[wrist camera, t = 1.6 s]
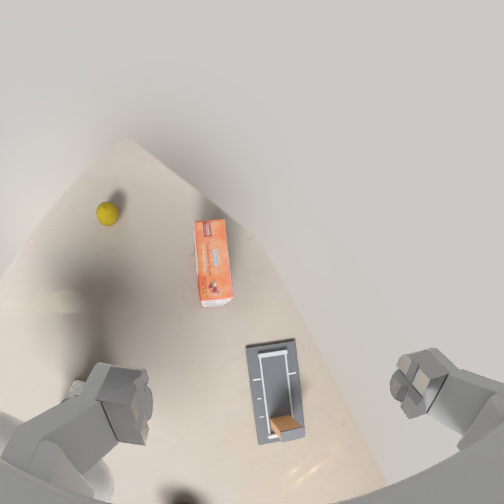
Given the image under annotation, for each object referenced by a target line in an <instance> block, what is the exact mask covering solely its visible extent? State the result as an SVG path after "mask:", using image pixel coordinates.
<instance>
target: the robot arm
mask: <svg viewBox="0 0 504 504" xmlns="http://www.w3.org/2000/svg"><path fill="white" fill-rule="evenodd" d="M397 367H398V370H397V371H396V372H395V373H394V374H393V375H392V378H391V381H390V391H391V394H392V396H393V397H394V398H395V399H396V400H398V401H400V402H401V408H402V410H403V411H404V413H405V414H406V415H407V417H408V418H409V419H411V418H415V417H417V416H420V415H423V414H426V413H427V415H429V416H430V417H432V418H434V419H435V420H437V421H439V422H440V423H442V424H444V425H445V426H447V427H449V428H451V429H452V430H454V431H456V432H457V433H459V434H461V435H463V437H462V438H461V440H460V441H459V442H458V444H457V447H458V449H459V450H460V451H459V452H458V453H456V454H454V455H453V456H451V457H449V458H447V459H445V460H444V461H442V462H440V463H438V464H436V465H434V466H432V467H430V468H428V469H426V470H424V471H422V472H420V473H418V474H415V475H414V476H411V477H409V478H406V479H404V480H402V481H399V482H397V483H395V484H392V485H389V486H387V487H384V488H381V489H378V490H376V491H373V492H370V493H367V494H364V495H360V496H357V497H354V498H350V499H347V500H343V501H339V502H336V503H331V504H504V383H501V382H497V381H495V380H492V379H489V378H486V377H483V376H480V375H477V374H475V373H472V372H469V371H466V370H463V369H462V370H459V369H458V368H457V367H456V366H455V365H454V364H453V363H452V362H451V361H450V360H449V359H448V358H447V357H446V356H445V355H443V354H442V353H441V352H440V351H439V350H438V349H436V348H430V349H426V350H423V351H419V352H415V353H410V354H406V355H402V356H401V357H400V358H399V360H398V362H397ZM148 379H149V378H148V374H147V370H146V369H144V368H136V367H129V366H122V365H115V364H114V365H113V364H107V363H101V362H99V363H97V364H96V365H95V366H94V368H93V370H92V372H91V374H90V376H89V377H88V379H87V381H86V382H84V381H81V380H75V381H74V382H73V383H72V385H71V387H70V390H69V391H68V394H67V396H66V398H65V400H63V401H62V402H61V403H60V404H58V405H57V406H55V407H53V408H51V409H49V410H47V411H46V412H44V413H42V414H40V415H38V416H36V417H34V418H32V419H31V420H29V421H27V422H24V421H22V420H20V419H18V418H16V417H14V416H12V415H11V414H9V413H6V412H3V411H0V504H112V503H109V501H110V500H111V498H112V496H113V492H114V481H113V476H112V473H111V471H110V469H109V467H108V465H107V464H106V462H105V461H104V459H103V457H104V456H105V455H106V454H107V453H108V452H109V451H110V450H111V449H113V448H114V447H115V446H116V445H117V444H118V442H123V443H130V444H138V445H146V440H147V435H148V430H149V428H148V425H147V421H148V420H149V419H150V418H151V416H152V411H153V398H152V392H151V389H150V388H149V387H148V386H147V383H148Z"/></svg>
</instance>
